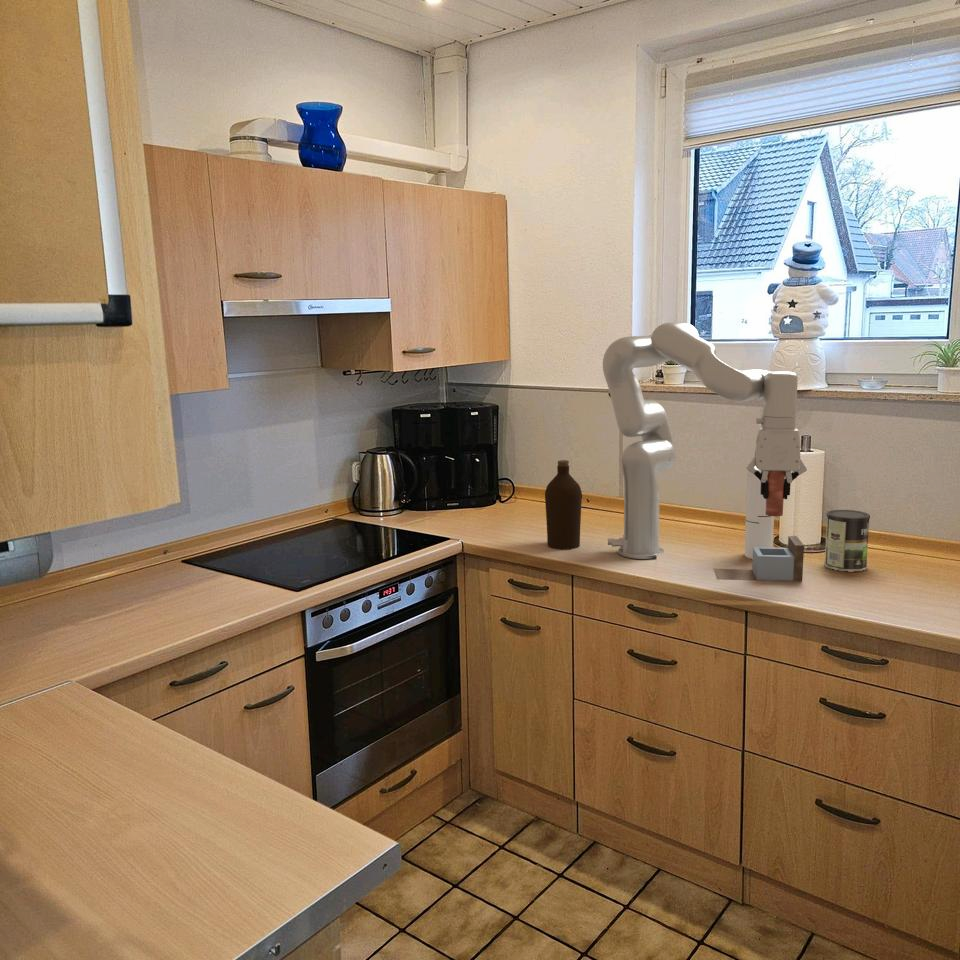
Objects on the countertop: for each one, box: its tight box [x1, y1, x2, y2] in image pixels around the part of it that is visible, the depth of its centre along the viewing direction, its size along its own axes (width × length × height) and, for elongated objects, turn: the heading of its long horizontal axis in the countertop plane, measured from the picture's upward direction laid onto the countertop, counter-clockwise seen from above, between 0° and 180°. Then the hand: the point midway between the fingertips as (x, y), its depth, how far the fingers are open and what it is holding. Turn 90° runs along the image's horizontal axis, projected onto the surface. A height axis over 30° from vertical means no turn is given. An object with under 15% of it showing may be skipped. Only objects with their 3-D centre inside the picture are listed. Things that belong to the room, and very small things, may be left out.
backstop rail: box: [713, 535, 805, 583], centre depth 211 cm, size 20×9×10 cm, turn 80°
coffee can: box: [823, 509, 871, 573], centre depth 219 cm, size 10×10×14 cm
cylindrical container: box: [744, 466, 775, 560], centre depth 227 cm, size 7×7×25 cm
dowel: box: [765, 471, 785, 517], centre depth 207 cm, size 4×4×12 cm
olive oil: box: [544, 459, 583, 550], centre depth 245 cm, size 11×11×25 cm
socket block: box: [751, 547, 795, 582], centre depth 211 cm, size 8×8×6 cm
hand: (774, 497), depth 207 cm, fingers closed on dowel, 4 cm apart
